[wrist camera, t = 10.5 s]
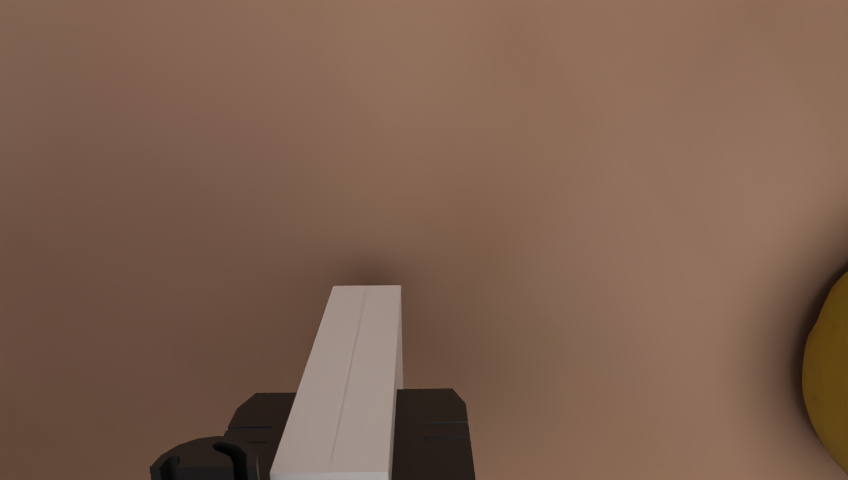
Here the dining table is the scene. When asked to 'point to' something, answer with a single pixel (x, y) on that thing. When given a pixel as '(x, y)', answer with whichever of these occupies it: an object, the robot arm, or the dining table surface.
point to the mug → (829, 373)
